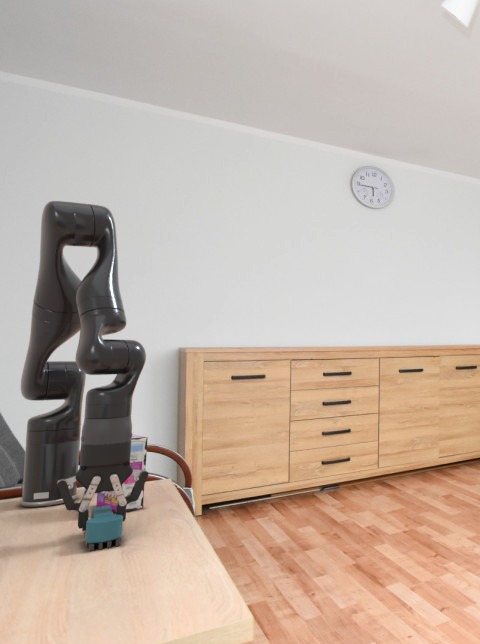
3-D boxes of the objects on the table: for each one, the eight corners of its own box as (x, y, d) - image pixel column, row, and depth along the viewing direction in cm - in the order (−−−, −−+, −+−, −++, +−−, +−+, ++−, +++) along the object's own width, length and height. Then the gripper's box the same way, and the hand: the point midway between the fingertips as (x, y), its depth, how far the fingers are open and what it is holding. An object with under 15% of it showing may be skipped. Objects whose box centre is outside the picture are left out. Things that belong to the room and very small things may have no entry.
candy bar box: (145, 508, 128) (149, 436, 129) (118, 514, 124) (122, 439, 124) (121, 501, 133) (125, 432, 134) (95, 506, 129) (99, 435, 130)
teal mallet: (82, 527, 111) (83, 508, 111) (116, 521, 115) (117, 504, 115) (85, 545, 101) (87, 524, 102) (123, 538, 105) (124, 519, 105)
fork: (82, 530, 113) (83, 524, 113) (114, 525, 116) (114, 519, 116) (87, 551, 101) (87, 545, 101) (121, 545, 105) (122, 539, 105)
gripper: (150, 434, 118) (145, 515, 118) (56, 441, 108) (50, 530, 107) (155, 438, 113) (150, 524, 112) (57, 446, 103) (51, 540, 102)
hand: (101, 526), depth 110 cm, fingers open, 4 cm apart
